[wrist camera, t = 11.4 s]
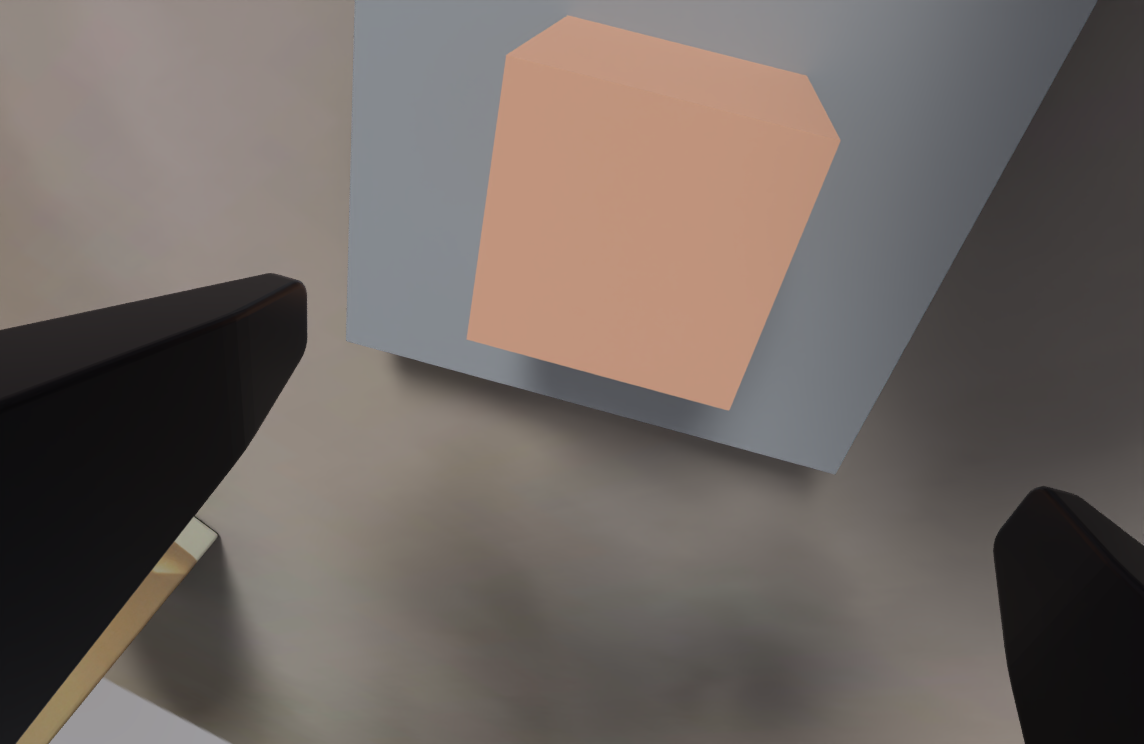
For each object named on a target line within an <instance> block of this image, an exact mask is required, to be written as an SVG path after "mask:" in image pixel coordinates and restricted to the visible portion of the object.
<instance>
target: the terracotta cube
mask: <svg viewBox="0 0 1144 744" xmlns="http://www.w3.org/2000/svg"><path fill="white" fill-rule="evenodd" d="M840 141H841V140H840V138H839V136H838V134H837V132H836V130H835V129H834V127H833V125H832V123H831V121H830V119H829V117H828V115H827V113H826V111H825V109H824V107H823V106H822V104H821V102H820V100H819V98H818V96H817V94H816V92H815V90H814V88H813V86H812V84H811V83H810V81H809V79H808V77H807V76H806V75H802V74H798V73H794V72H790V71H786V70H782V69H778V68H774V67H771V66H767V65H763V64H759V63H755V62H751V61H747V60H743V59H739V58H735V57H731V56H727V55H723V54H719V53H715V52H711V51H707V50H703V49H699V48H695V47H691V46H687V45H684V44H680V43H676V42H672V41H668V40H664V39H660V38H656V37H652V36H648V35H644V34H640V33H636V32H632V31H628V30H624V29H620V28H616V27H612V26H608V25H604V24H601V23H597V22H593V21H589V20H585V19H581V18H577V17H573V16H569V15H567V16H566V17H564V18H563V19H561V20H560V21H558V22H557V23H555V24H553V25H552V26H550V27H549V28H547V29H546V30H544V31H543V32H541V33H539V34H538V35H536V36H535V37H533V38H532V39H530V40H529V41H527V42H525V43H524V44H522V45H521V46H519V47H518V48H516V49H515V50H513V51H511V52H510V53H508V54H507V55H506V60H505V67H504V74H503V81H502V88H501V96H500V103H499V110H498V117H497V124H496V131H495V139H494V146H493V153H492V160H491V167H490V174H489V182H488V189H487V196H486V203H485V210H484V218H483V225H482V232H481V239H480V246H479V253H478V261H477V268H476V275H475V282H474V289H473V296H472V304H471V311H470V318H469V325H468V332H467V340H470V341H474V342H478V343H481V344H485V345H489V346H492V347H496V348H500V349H503V350H507V351H511V352H515V353H518V354H522V355H526V356H529V357H533V358H537V359H540V360H544V361H548V362H551V363H555V364H559V365H562V366H566V367H570V368H573V369H577V370H581V371H584V372H588V373H592V374H596V375H599V376H603V377H607V378H610V379H614V380H618V381H621V382H625V383H629V384H632V385H636V386H640V387H643V388H647V389H651V390H654V391H658V392H662V393H665V394H669V395H673V396H677V397H680V398H684V399H688V400H691V401H695V402H699V403H702V404H706V405H710V406H713V407H717V408H721V409H724V410H728V411H729V410H730V408H731V405H732V403H733V400H734V398H735V395H736V393H737V391H738V388H739V386H740V383H741V381H742V378H743V376H744V374H745V371H746V369H747V366H748V364H749V362H750V359H751V357H752V354H753V352H754V349H755V347H756V345H757V342H758V340H759V337H760V335H761V332H762V330H763V328H764V325H765V323H766V320H767V318H768V315H769V313H770V311H771V308H772V306H773V303H774V301H775V299H776V296H777V294H778V291H779V289H780V286H781V284H782V282H783V279H784V277H785V274H786V272H787V269H788V267H789V265H790V262H791V260H792V257H793V255H794V253H795V250H796V248H797V245H798V243H799V240H800V238H801V236H802V233H803V231H804V228H805V226H806V223H807V221H808V219H809V216H810V214H811V211H812V209H813V206H814V204H815V202H816V199H817V197H818V194H819V192H820V190H821V187H822V185H823V182H824V180H825V177H826V175H827V173H828V170H829V168H830V165H831V163H832V160H833V158H834V156H835V153H836V151H837V148H838V146H839V143H840Z"/></svg>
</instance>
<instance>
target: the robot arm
mask: <svg viewBox="0 0 1144 744" xmlns="http://www.w3.org/2000/svg"><path fill="white" fill-rule="evenodd" d="M306 344H307V292H306V288H305V286H304V285H303V283H302V282H301V281H299V280H296V279H292V278H289V277H285V276H281V275H278V274H273V273H267V274H262V275H258V276H253V277H248V278H244V279H239V280H234V281H229V282H225V283H220V284H215V285H211V286H206V287H201V288H196V289H192V290H187V291H182V292H178V293H173V294H168V295H163V296H159V297H154V298H149V299H145V300H140V301H135V302H130V303H126V304H121V305H116V306H112V307H107V308H102V309H97V310H93V311H88V312H83V313H79V314H74V315H69V316H64V317H60V318H55V319H50V320H46V321H41V322H36V323H31V324H27V325H22V326H17V327H12V328H8V329H3V330H0V744H16V743H17V742H18V741H19V739H20V738H21V737H22V735H23V734H24V733H25V732H26V730H27V729H28V728H29V726H30V725H31V724H32V723H33V721H34V720H35V719H36V718H37V716H38V715H39V714H40V712H41V711H42V710H43V709H44V707H45V706H46V705H47V703H48V702H49V701H50V700H51V698H52V697H53V696H54V695H55V693H56V692H57V691H58V689H59V688H60V687H61V686H62V684H63V683H64V682H65V681H66V679H67V678H68V677H69V675H70V674H71V673H72V672H73V670H74V669H75V668H76V666H77V665H78V664H79V663H80V661H81V660H82V659H83V658H84V656H85V655H86V654H87V652H88V651H89V650H90V649H91V647H92V646H93V645H94V643H95V642H96V641H97V640H98V638H99V637H100V636H101V635H102V633H103V632H104V631H105V629H106V628H107V627H108V626H109V624H110V623H111V622H112V620H113V619H114V618H115V617H116V615H117V614H118V613H119V612H120V610H121V609H122V608H123V606H124V605H125V604H126V603H127V601H128V600H129V599H130V598H131V596H132V595H133V594H134V592H135V591H136V590H137V589H138V587H139V586H140V585H141V583H142V582H143V581H144V580H145V578H146V577H147V576H148V575H149V573H150V572H151V571H152V569H153V568H154V567H155V566H156V564H157V563H158V562H159V560H160V559H161V558H162V557H163V555H164V554H165V553H166V552H167V550H168V549H169V548H170V546H171V545H172V544H173V543H174V541H175V540H176V539H177V537H178V536H179V535H180V534H181V532H182V531H183V530H184V529H185V527H186V526H187V525H188V523H189V522H190V521H191V520H192V518H193V517H194V516H195V514H196V513H197V512H198V511H199V509H200V508H201V507H202V506H203V504H204V503H205V502H206V500H207V499H208V498H209V497H210V495H211V494H212V493H213V492H214V490H215V489H216V488H217V486H218V485H219V484H220V483H221V481H222V480H223V479H224V477H225V476H226V475H227V474H228V472H229V471H230V470H231V469H232V467H233V466H234V465H235V463H236V462H237V461H238V459H239V458H240V457H241V455H242V454H243V453H244V451H245V450H246V448H247V447H248V445H249V444H250V442H251V441H252V439H253V438H254V436H255V434H256V433H257V431H258V430H259V428H260V426H261V425H262V423H263V421H264V420H265V418H266V416H267V415H268V413H269V411H270V410H271V408H272V406H273V405H274V403H275V401H276V400H277V398H278V396H279V395H280V393H281V392H282V390H283V388H284V387H285V385H286V383H287V382H288V380H289V378H290V377H291V375H292V373H293V372H294V370H295V368H296V367H297V365H298V363H299V362H300V360H301V358H302V356H303V354H304V352H305V348H306ZM993 554H994V563H995V571H996V580H997V588H998V596H999V605H1000V613H1001V622H1002V630H1003V638H1004V647H1005V654H1006V660H1007V667H1008V672H1009V677H1010V682H1011V687H1012V691H1013V695H1014V700H1015V704H1016V708H1017V712H1018V717H1019V721H1020V725H1021V729H1022V734H1023V738H1024V742H1025V744H1144V546H1143V545H1142V544H1141V543H1139V542H1138V541H1137V540H1135V539H1134V538H1133V537H1132V536H1130V535H1129V534H1128V533H1126V532H1125V531H1124V530H1122V529H1121V528H1120V527H1118V526H1117V525H1116V524H1115V523H1113V522H1112V521H1111V520H1109V519H1108V518H1107V517H1105V516H1104V515H1103V514H1102V513H1100V512H1099V511H1098V510H1096V509H1095V508H1094V507H1092V506H1091V505H1090V504H1089V503H1087V502H1086V501H1085V500H1083V499H1082V498H1080V497H1079V496H1077V495H1074V494H1072V493H1068V492H1064V491H1061V490H1057V489H1053V488H1050V487H1045V486H1042V487H1037V488H1035V489H1033V490H1032V491H1030V493H1029V494H1028V495H1027V496H1026V497H1025V498H1024V500H1023V501H1022V502H1021V503H1020V505H1019V506H1018V507H1017V509H1016V510H1015V511H1014V512H1013V514H1012V515H1011V516H1010V518H1009V519H1008V520H1007V521H1006V523H1005V524H1004V525H1003V526H1002V528H1001V529H1000V530H999V532H998V534H997V536H996V538H995V542H994V548H993Z"/></svg>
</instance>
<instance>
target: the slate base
mask: <svg viewBox="0 0 1144 744" xmlns="http://www.w3.org/2000/svg"><path fill="white" fill-rule="evenodd" d="M1097 1H1098V0H355V17H354V55H353V94H352V132H351V170H350V209H349V247H348V286H347V324H346V341H348V342H352V343H355V344H359V345H363V346H366V347H370V348H374V349H377V350H381V351H385V352H388V353H392V354H396V355H399V356H403V357H407V358H410V359H414V360H418V361H421V362H425V363H429V364H432V365H436V366H440V367H443V368H447V369H451V370H454V371H458V372H462V373H465V374H469V375H473V376H476V377H480V378H484V379H487V380H491V381H495V382H498V383H502V384H506V385H509V386H513V387H516V388H520V389H524V390H527V391H531V392H535V393H538V394H542V395H546V396H549V397H553V398H557V399H560V400H564V401H568V402H571V403H575V404H579V405H582V406H586V407H590V408H593V409H597V410H601V411H604V412H608V413H612V414H615V415H619V416H623V417H626V418H630V419H634V420H637V421H641V422H645V423H648V424H652V425H656V426H659V427H663V428H667V429H670V430H674V431H678V432H681V433H685V434H689V435H692V436H696V437H700V438H703V439H707V440H711V441H714V442H718V443H722V444H725V445H729V446H733V447H736V448H740V449H744V450H747V451H751V452H755V453H758V454H762V455H766V456H769V457H773V458H777V459H780V460H784V461H788V462H791V463H795V464H799V465H802V466H806V467H810V468H813V469H817V470H821V471H824V472H828V473H832V474H836V472H837V470H838V469H839V467H840V465H841V463H842V461H843V460H844V458H845V456H846V454H847V452H848V450H849V449H850V447H851V445H852V443H853V441H854V440H855V438H856V436H857V434H858V432H859V431H860V429H861V427H862V425H863V423H864V422H865V420H866V418H867V416H868V414H869V413H870V411H871V409H872V407H873V405H874V404H875V402H876V400H877V398H878V396H879V395H880V393H881V391H882V389H883V387H884V385H885V384H886V382H887V380H888V378H889V376H890V375H891V373H892V371H893V369H894V367H895V366H896V364H897V362H898V360H899V358H900V357H901V355H902V353H903V351H904V349H905V348H906V346H907V344H908V342H909V340H910V339H911V337H912V335H913V333H914V331H915V330H916V328H917V326H918V324H919V322H920V320H921V319H922V317H923V315H924V313H925V311H926V310H927V308H928V306H929V304H930V302H931V301H932V299H933V297H934V295H935V293H936V292H937V290H938V288H939V286H940V284H941V283H942V281H943V279H944V277H945V275H946V274H947V272H948V270H949V268H950V266H951V265H952V263H953V261H954V259H955V257H956V255H957V254H958V252H959V250H960V248H961V246H962V245H963V243H964V241H965V239H966V237H967V236H968V234H969V232H970V230H971V228H972V227H973V225H974V223H975V221H976V219H977V218H978V216H979V214H980V212H981V210H982V209H983V207H984V205H985V203H986V201H987V200H988V198H989V196H990V194H991V192H992V190H993V189H994V187H995V185H996V183H997V181H998V180H999V178H1000V176H1001V174H1002V172H1003V171H1004V169H1005V167H1006V165H1007V163H1008V162H1009V160H1010V158H1011V156H1012V154H1013V153H1014V151H1015V149H1016V147H1017V145H1018V144H1019V142H1020V140H1021V138H1022V136H1023V135H1024V133H1025V131H1026V129H1027V127H1028V125H1029V124H1030V122H1031V120H1032V118H1033V116H1034V115H1035V113H1036V111H1037V109H1038V107H1039V106H1040V104H1041V102H1042V100H1043V98H1044V97H1045V95H1046V93H1047V91H1048V89H1049V88H1050V86H1051V84H1052V82H1053V80H1054V79H1055V77H1056V75H1057V73H1058V71H1059V70H1060V68H1061V66H1062V64H1063V62H1064V60H1065V59H1066V57H1067V55H1068V53H1069V51H1070V50H1071V48H1072V46H1073V44H1074V42H1075V41H1076V39H1077V37H1078V35H1079V33H1080V32H1081V30H1082V28H1083V26H1084V24H1085V23H1086V21H1087V19H1088V17H1089V15H1090V14H1091V12H1092V10H1093V8H1094V6H1095V5H1096V3H1097ZM567 15H569V16H573V17H577V18H581V19H585V20H589V21H593V22H597V23H601V24H604V25H608V26H612V27H616V28H620V29H624V30H628V31H632V32H636V33H640V34H644V35H648V36H652V37H656V38H660V39H664V40H668V41H672V42H676V43H680V44H684V45H687V46H691V47H695V48H699V49H703V50H707V51H711V52H715V53H719V54H723V55H727V56H731V57H735V58H739V59H743V60H747V61H751V62H755V63H759V64H763V65H767V66H771V67H774V68H778V69H782V70H786V71H790V72H794V73H798V74H802V75H806V76H807V77H808V79H809V81H810V83H811V84H812V86H813V88H814V90H815V92H816V94H817V96H818V98H819V100H820V102H821V104H822V106H823V107H824V109H825V111H826V113H827V115H828V117H829V119H830V121H831V123H832V125H833V127H834V129H835V130H836V132H837V134H838V136H839V138H840V140H841V141H840V143H839V146H838V148H837V151H836V153H835V156H834V158H833V160H832V163H831V165H830V168H829V170H828V173H827V175H826V177H825V180H824V182H823V185H822V187H821V190H820V192H819V194H818V197H817V199H816V202H815V204H814V206H813V209H812V211H811V214H810V216H809V219H808V221H807V223H806V226H805V228H804V231H803V233H802V236H801V238H800V240H799V243H798V245H797V248H796V250H795V253H794V255H793V257H792V260H791V262H790V265H789V267H788V269H787V272H786V274H785V277H784V279H783V282H782V284H781V286H780V289H779V291H778V294H777V296H776V299H775V301H774V303H773V306H772V308H771V311H770V313H769V315H768V318H767V320H766V323H765V325H764V328H763V330H762V332H761V335H760V337H759V340H758V342H757V345H756V347H755V349H754V352H753V354H752V357H751V359H750V362H749V364H748V366H747V369H746V371H745V374H744V376H743V378H742V381H741V383H740V386H739V388H738V391H737V393H736V395H735V398H734V400H733V403H732V405H731V408H730V410H729V411H728V410H724V409H721V408H717V407H713V406H710V405H706V404H702V403H699V402H695V401H691V400H688V399H684V398H680V397H677V396H673V395H669V394H665V393H662V392H658V391H654V390H651V389H647V388H643V387H640V386H636V385H632V384H629V383H625V382H621V381H618V380H614V379H610V378H607V377H603V376H599V375H596V374H592V373H588V372H584V371H581V370H577V369H573V368H570V367H566V366H562V365H559V364H555V363H551V362H548V361H544V360H540V359H537V358H533V357H529V356H526V355H522V354H518V353H515V352H511V351H507V350H503V349H500V348H496V347H492V346H489V345H485V344H481V343H478V342H474V341H470V340H467V332H468V325H469V318H470V311H471V304H472V296H473V289H474V282H475V275H476V268H477V261H478V253H479V246H480V239H481V232H482V225H483V218H484V210H485V203H486V196H487V189H488V182H489V174H490V167H491V160H492V153H493V146H494V139H495V131H496V124H497V117H498V110H499V103H500V96H501V88H502V81H503V74H504V67H505V60H506V55H507V54H508V53H510V52H511V51H513V50H515V49H516V48H518V47H519V46H521V45H522V44H524V43H525V42H527V41H529V40H530V39H532V38H533V37H535V36H536V35H538V34H539V33H541V32H543V31H544V30H546V29H547V28H549V27H550V26H552V25H553V24H555V23H557V22H558V21H560V20H561V19H563V18H564V17H566V16H567Z"/></svg>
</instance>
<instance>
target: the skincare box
mask: <svg viewBox="0 0 1144 744" xmlns="http://www.w3.org/2000/svg"><path fill="white" fill-rule="evenodd" d="M217 537H218V535H217V534H216V533H215V532H214V531H213V530H211V529H210V528H209V527H207V526H206V525H205V524H203V523H202V522H200V521H199V520H198V519H196V518H195V517H193V518H192V520H191V521H190V522H189V523H188V525H187V526H186V527H185V529H184V530H183V531H182V532H181V534H180V535H179V536H178V537H177V539H176V540H175V541H174V543H173V544H172V545H171V546H170V548H169V549H168V550H167V552H166V553H165V554H164V555H163V557H162V558H161V559H160V560H159V562H158V563H157V564H156V566H155V567H154V568H153V569H152V571H151V572H150V573H149V575H148V576H147V577H146V578H145V580H144V581H143V582H142V583H141V585H140V586H139V587H138V589H137V590H136V591H135V592H134V594H133V595H132V596H131V598H130V599H129V600H128V601H127V603H126V604H125V605H124V606H123V608H122V609H121V610H120V612H119V613H118V614H117V615H116V617H115V618H114V619H113V620H112V622H111V623H110V624H109V626H108V627H107V628H106V629H105V631H104V632H103V633H102V635H101V636H100V637H99V638H98V640H97V641H96V642H95V643H94V645H93V646H92V647H91V649H90V650H89V651H88V652H87V654H86V655H85V656H84V658H83V659H82V660H81V661H80V663H79V664H78V665H77V666H76V668H75V669H74V670H73V672H72V673H71V674H70V675H69V677H68V678H67V679H66V681H65V682H64V683H63V684H62V686H61V687H60V688H59V689H58V691H57V692H56V693H55V695H54V696H53V697H52V698H51V700H50V701H49V702H48V703H47V705H46V706H45V707H44V709H43V710H42V711H41V712H40V714H39V715H38V716H37V718H36V719H35V720H34V721H33V723H32V724H31V725H30V726H29V728H28V729H27V730H26V732H25V733H24V734H23V735H22V737H21V738H20V739H19V741H18V742H17V743H16V744H49V743H50V741H51V740H52V739H53V738H54V736H55V735H56V734H57V733H58V732H59V730H60V729H61V728H62V727H63V726H64V724H65V723H66V722H67V721H68V719H69V718H70V717H71V716H72V715H73V713H74V712H75V711H76V710H77V708H78V707H79V706H80V705H81V704H82V702H83V701H84V700H85V699H86V697H87V696H88V695H89V694H90V693H91V691H92V690H93V689H94V688H95V686H96V685H97V684H98V683H99V682H100V680H101V679H102V678H103V677H104V675H105V674H106V673H107V672H108V670H109V669H110V668H111V667H112V665H113V664H114V663H115V662H116V661H117V659H118V658H119V657H120V656H121V654H122V653H123V652H124V651H125V650H126V648H127V647H128V646H129V645H130V644H131V642H132V641H133V640H134V639H135V637H136V636H137V635H138V634H139V633H140V631H141V630H142V629H143V628H144V627H145V625H146V624H147V623H148V622H149V620H150V619H151V618H152V617H153V615H154V614H155V613H156V612H157V610H158V609H159V608H160V607H161V605H162V604H163V603H164V602H165V601H166V599H167V598H168V597H169V596H170V594H171V593H172V592H173V591H174V590H175V589H176V587H177V586H178V585H179V584H180V583H181V582H182V580H183V579H184V578H185V577H186V576H187V574H188V573H189V572H190V571H191V569H192V568H193V567H194V566H195V564H196V563H197V562H198V561H199V559H200V558H201V557H202V556H203V554H204V553H205V552H206V551H207V550H208V548H209V547H210V546H211V545H212V543H213V542H214V541H215V540H216V539H217Z"/></svg>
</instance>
